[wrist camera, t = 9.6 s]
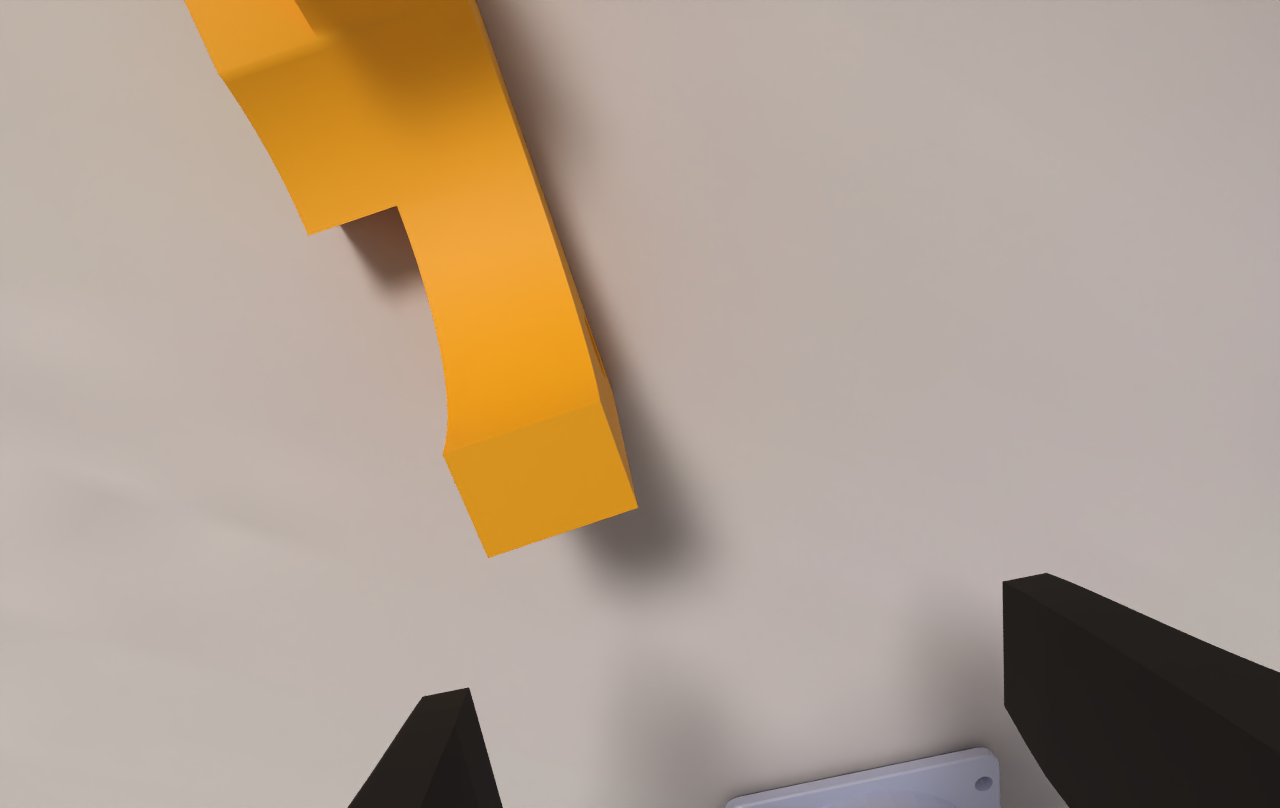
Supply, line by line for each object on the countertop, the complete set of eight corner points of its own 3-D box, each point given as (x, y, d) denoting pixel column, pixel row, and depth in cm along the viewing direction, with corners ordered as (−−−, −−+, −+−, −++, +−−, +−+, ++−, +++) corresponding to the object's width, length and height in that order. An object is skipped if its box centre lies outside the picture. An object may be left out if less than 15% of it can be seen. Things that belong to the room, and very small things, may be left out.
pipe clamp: (195, -109, 15) (-39, -264, 9) (412, -184, 15) (319, -388, 9) (439, 446, 19) (386, 591, 13) (611, 388, 19) (638, 507, 13)
